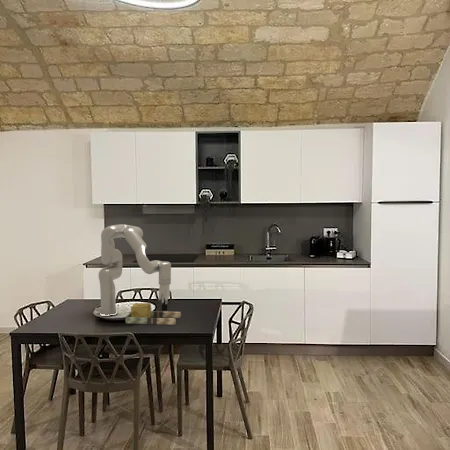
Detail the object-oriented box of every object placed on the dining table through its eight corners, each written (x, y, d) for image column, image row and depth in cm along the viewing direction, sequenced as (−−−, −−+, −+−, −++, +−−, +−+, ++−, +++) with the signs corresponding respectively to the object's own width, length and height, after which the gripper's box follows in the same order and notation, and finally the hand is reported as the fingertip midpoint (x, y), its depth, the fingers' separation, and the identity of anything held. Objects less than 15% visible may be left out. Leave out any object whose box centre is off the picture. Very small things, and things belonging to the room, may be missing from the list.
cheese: (147, 322, 297) (147, 306, 296) (130, 322, 298) (129, 306, 297) (151, 318, 307) (151, 302, 306) (135, 317, 308) (134, 302, 307)
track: (125, 323, 296) (125, 316, 295) (133, 316, 312) (133, 309, 311) (175, 324, 292) (175, 317, 292) (180, 317, 308) (180, 310, 308)
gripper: (161, 278, 307) (161, 307, 308) (155, 283, 292) (155, 313, 294) (173, 279, 306) (173, 307, 308) (167, 284, 291) (167, 313, 293)
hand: (164, 310), depth 301 cm, fingers closed
